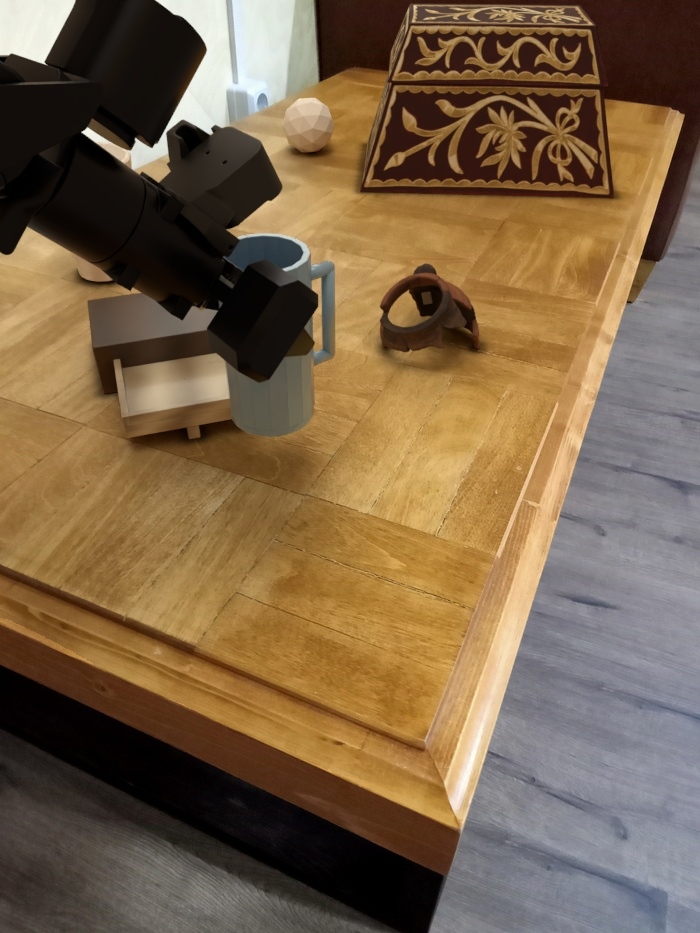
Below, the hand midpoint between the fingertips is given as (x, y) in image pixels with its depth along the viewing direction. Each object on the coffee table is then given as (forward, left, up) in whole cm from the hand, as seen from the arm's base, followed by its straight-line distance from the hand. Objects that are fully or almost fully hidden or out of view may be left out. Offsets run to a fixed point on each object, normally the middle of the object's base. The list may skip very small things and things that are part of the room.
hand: (283, 328), depth 56 cm
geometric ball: (+21, +72, -13) cm, 76 cm away
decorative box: (+43, +57, -13) cm, 72 cm away
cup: (-12, +39, -13) cm, 43 cm away
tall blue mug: (0, 0, -7) cm, 7 cm away
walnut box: (-7, +14, -12) cm, 20 cm away
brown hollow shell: (+18, +14, -13) cm, 26 cm away
